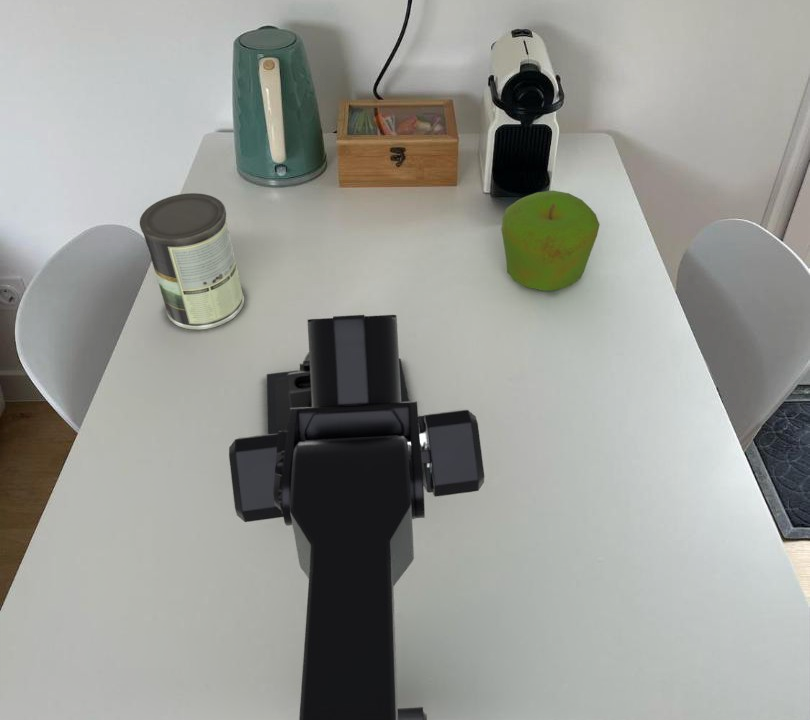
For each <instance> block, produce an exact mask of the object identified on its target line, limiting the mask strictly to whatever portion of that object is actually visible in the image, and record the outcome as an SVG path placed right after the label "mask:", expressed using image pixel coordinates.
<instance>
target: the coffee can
mask: <svg viewBox="0 0 810 720" xmlns="http://www.w3.org/2000/svg"><path fill="white" fill-rule="evenodd" d="M139 227H140V230H141V232H142V234H143V237H144V240H145V244H146V247H147V250H148V253H149V256H150V259H151V260H150V261H151V263H152V266H153V269H154V273H155V276H156V279H157V282H158V285H159V290H160V293H161V295H162V299H163V302H164V305H165V309H166V315H167V317H168V319H169V320H170V321H171V322H172V323H173V324H174V325H175V326H178V327H180V328H183V329H186V330H193V331H195V330H198V331H199V330H209V329H213V328H216V327H220V326H222V325H224V324H227V323H228V322H230V321H231V320H232V319H234V318H235V317H236V316H238V314H239V313H240V312H241V310H242V309H243V306H244V304H245V297H244V293H243V289H242V286H241V280H240V276H239V272H238V267H237V262H236V258H235V254H234V253H235V252H234V248H233V244H232V239H231V233H230V230H229V225H228V221H227V210H226V207H225V204H224V203H223V202H222V201H221V200H220V199H219V198H216V197H215V196H213V195H210V194H205V193H196V192H195V193H193V192H192V193H188V192H187V193H180V194H179V193H178V194H176V195H172V196H168V197H166V198H165V197H164V198H163V199H160V200H158V201H156V202H154V203H153V204H151V205H150V206H149V207H147V208H146V209H145V210H144V211H143V213H142V214H141V216H140V217H139Z"/></svg>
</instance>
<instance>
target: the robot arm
mask: <svg viewBox="0 0 810 720" xmlns="http://www.w3.org/2000/svg"><path fill="white" fill-rule="evenodd" d="M398 336H399V334H398V315H396V314H383V315H365V314H353V315H350V314H349V315H334V316H332V317H326V318H311V319H309V318H308V319H307V338H308V339H307V340H308V352H309V358H310V360H308V361H304V360H303V361H302V363H299V371H298V370H296V371H297V372H290V373H289V374H288V375H287V385H288V394H289V399H290V405H291V408H290V412H289V420H288V427H287V431H278V433H276V434H268V433H267V434H261V435H252V436H251V435H250V436H245V437H238V438H235V439H234V440H233V442H232V443H231V445H230V446H229V448H228V459H229V467H230V477H231V485H232V492H233V493H232V495H233V502H234V510H235V513H236V516H237V517H238V518H239V519H240V520H242V521H243V522H244V523H249V522H250V523H251V522H256V521H257V522H258V521H263V520H264V521H265V520H273V519H279V518H283V521H284V524H285V526H292V530H293V535H294V541H295V546H296V547H295V548H296V552H297V557H298V558H297V559H298V565H299V567H300V569H301V570H302V571H303V573H304V575H305V576H306V577H307V578H308V585H307V588H308V589H307V601H306V602H307V603H306V616H305V631H304V645H303V659H302V673H301V675H302V676H301V689H300V704H299V717H298V720H428V716H427V715H428V714H427V713H426V712H424V707H423V706H418V707H400V708H398V681H397V679H398V678H397V654H396V653H397V651H396V650H397V649H396V623H395V622H396V621H395V619H396V618H395V592H394V591H395V589H394V587H395V585H396V584H397V583H398V582H399V580H400V579H401V577H402V576H403V575H404V574H405V572H406V571H407V570H408V568H409V567H410V566H411V564H412V563H413V562H414V558H415V550H414V549H415V548H414V530H413V529H414V528H413V519H425V518H426V517H425V516H426V515H425V514H426V513H425V491H426V492H427V493H428V494H429V493H432V495H433V497H435V498H436V497H443V496H451V495H457V494H466V493H473V492H479V491H480V489H481V488H482V486H483V485H484V483H485V470H484V462H483V455H482V446H481V438H480V437H481V436H480V430H479V423H478V420H477V416H476V415H475V414H473V413H472V412H471V411H470V410H468V409H459V410H452V411H451V410H450V411H443V412H436V413H428V414H423V415H419V412H418V411H419V410H418V401H417V400H413V401H412V400H411V401H410V400H409V402H401V387H400V369H399V358H400V353H399V337H398ZM424 489H425V490H424Z"/></svg>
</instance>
